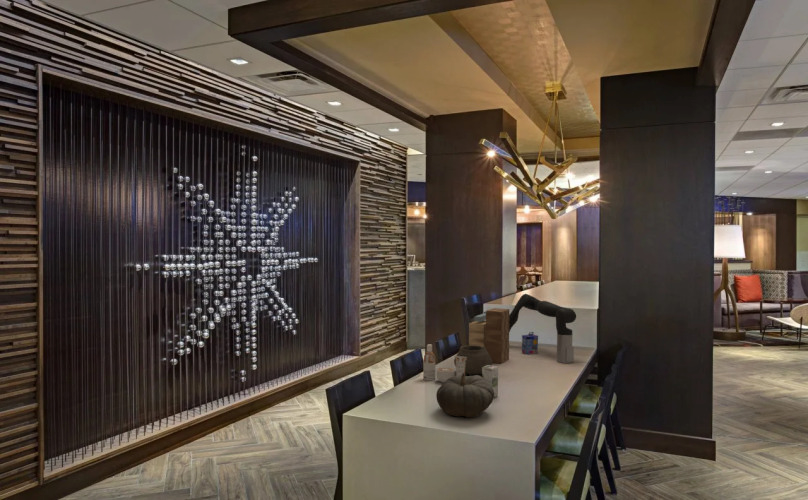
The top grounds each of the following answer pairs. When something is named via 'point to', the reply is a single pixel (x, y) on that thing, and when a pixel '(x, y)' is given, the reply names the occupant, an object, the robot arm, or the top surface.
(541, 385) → the top surface
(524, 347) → the ink cartridge box
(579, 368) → the top surface
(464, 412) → the gourd
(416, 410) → the top surface
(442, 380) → the cosmetic set
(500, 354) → the walnut stand
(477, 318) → the batten
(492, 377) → the white carton
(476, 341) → the oak stand
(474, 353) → the clay pot
